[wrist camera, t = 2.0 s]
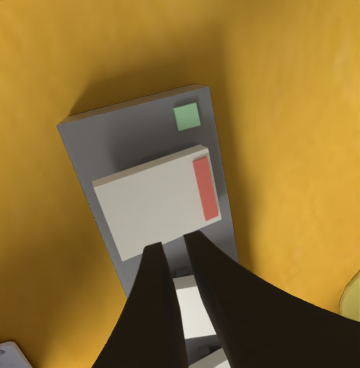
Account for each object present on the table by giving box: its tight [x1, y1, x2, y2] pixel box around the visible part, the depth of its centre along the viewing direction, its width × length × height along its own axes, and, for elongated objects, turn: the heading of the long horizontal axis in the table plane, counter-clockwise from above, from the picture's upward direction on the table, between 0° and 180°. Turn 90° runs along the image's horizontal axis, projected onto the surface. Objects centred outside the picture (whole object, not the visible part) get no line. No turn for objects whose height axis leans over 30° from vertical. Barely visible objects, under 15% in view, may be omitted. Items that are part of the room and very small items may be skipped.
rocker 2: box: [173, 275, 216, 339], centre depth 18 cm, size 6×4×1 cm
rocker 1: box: [92, 144, 221, 262], centre depth 15 cm, size 6×4×1 cm
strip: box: [57, 84, 240, 366], centre depth 21 cm, size 8×26×4 cm, turn 13°
